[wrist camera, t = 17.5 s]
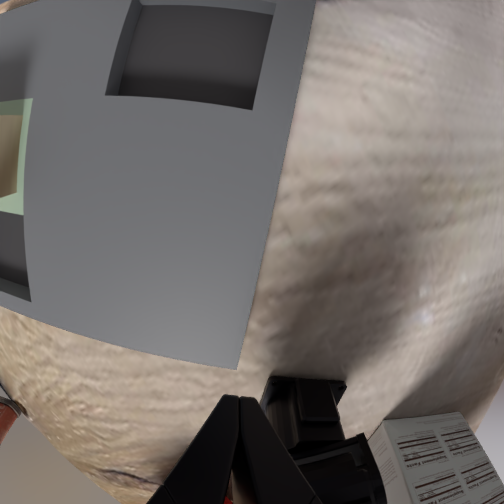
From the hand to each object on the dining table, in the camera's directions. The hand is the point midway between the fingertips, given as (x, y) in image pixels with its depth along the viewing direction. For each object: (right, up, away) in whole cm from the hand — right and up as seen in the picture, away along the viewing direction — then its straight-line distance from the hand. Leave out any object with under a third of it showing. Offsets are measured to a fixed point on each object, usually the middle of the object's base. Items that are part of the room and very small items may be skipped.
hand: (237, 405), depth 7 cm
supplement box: (+18, -22, +21) cm, 35 cm away
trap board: (-10, +10, +9) cm, 17 cm away
